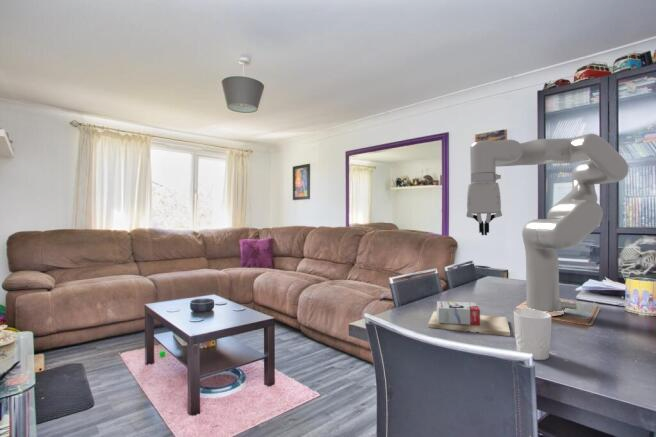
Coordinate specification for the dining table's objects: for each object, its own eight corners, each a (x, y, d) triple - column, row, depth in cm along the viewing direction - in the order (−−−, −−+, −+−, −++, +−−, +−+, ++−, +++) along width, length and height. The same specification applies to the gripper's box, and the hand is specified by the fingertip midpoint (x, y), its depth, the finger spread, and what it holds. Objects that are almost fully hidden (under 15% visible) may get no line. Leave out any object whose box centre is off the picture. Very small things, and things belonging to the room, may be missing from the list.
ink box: (480, 309, 101) (438, 307, 103) (480, 326, 101) (438, 323, 104) (474, 302, 109) (436, 300, 112) (475, 317, 109) (436, 315, 112)
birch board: (506, 321, 108) (506, 317, 108) (510, 336, 96) (510, 331, 96) (433, 314, 117) (433, 310, 117) (428, 327, 104) (428, 323, 104)
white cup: (508, 348, 87) (507, 309, 87) (539, 347, 87) (539, 308, 87) (524, 361, 80) (524, 318, 79) (559, 361, 79) (559, 318, 79)
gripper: (507, 178, 114) (508, 234, 114) (459, 181, 120) (460, 234, 120) (509, 176, 107) (510, 235, 107) (458, 179, 113) (459, 235, 113)
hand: (484, 234), depth 113 cm, fingers closed
